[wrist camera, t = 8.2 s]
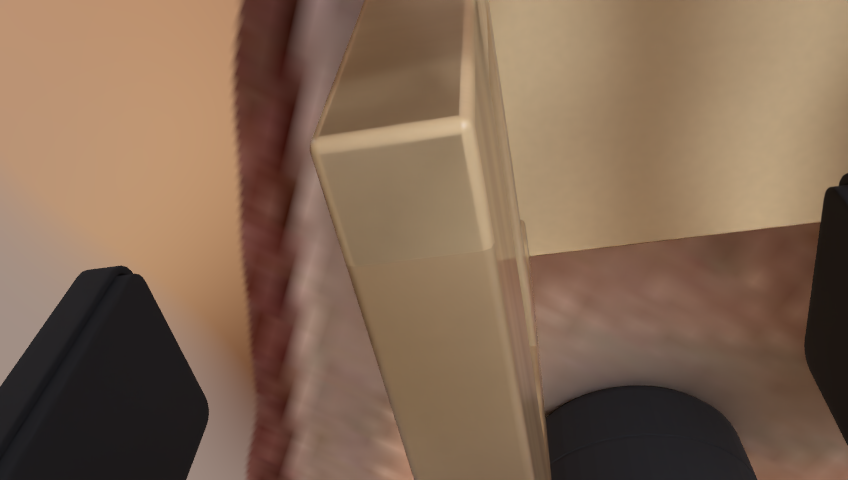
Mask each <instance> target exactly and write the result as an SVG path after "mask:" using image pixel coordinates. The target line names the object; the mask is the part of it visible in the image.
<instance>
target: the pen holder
mask: <svg viewBox="0 0 848 480" xmlns="http://www.w3.org/2000/svg"><path fill="white" fill-rule="evenodd" d="M546 429H547V439H548V449H549V459H550V470H551V480H757V478H756V475H755V473H754V471H753V468H752V466H751V464H750V461H749V459H748V457H747V454H746V452H745V450H744V448H743V445H742V443H741V441H740V439H739V437H738V435H737V433H736V431H735V430H734V428H733V426H732V425H731V423H730V422H729V421H728V420H727V419H726V418H725V417H724V416H723V415H722V414H721V413H720V412H719V411H717V410H716V409H715V408H713V407H712V406H710V405H708V404H707V403H705V402H703V401H701V400H699V399H697V398H695V397H692V396H690V395H688V394H685V393H682V392H679V391H675V390H672V389H666V388H661V387H652V386H625V387H615V388H610V389H604V390H600V391H596V392H593V393H589V394H586V395H584V396H581V397H579V398H576V399H574V400H572V401H570V402H568V403H566V404H564V405H563V406H561V407H560V408H558V409H557V410H555V411H554V412H553V413H551V414H550V415H549V416H548V417H547V418H546Z"/></svg>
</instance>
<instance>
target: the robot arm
mask: <svg viewBox="0 0 848 480" xmlns="http://www.w3.org/2000/svg"><path fill="white" fill-rule="evenodd" d="M804 347H805V355H806V360H807V364H808V367H809V369H810V371H811V373H812V375H813V377H814V379H815V381H816V383H817V385H818V387H819V389H820V391H821V393H822V395H823V397H824V399H825V401H826V403H827V405H828V407H829V409H830V411H831V413H832V415H833V417H834V419H835V421H836V423H837V425H838V427H839V429H840V431H841V433H842V435H843V437H844V439H845V441H846V443H847V445H848V173H846V174H845V175H843V176H842V178H841V180H840V182H839V186H834V187H829V188H828V189H827V190H826V192H825V196H824V201H823V208H822V216H821V223H820V231H819V238H818V245H817V253H816V260H815V268H814V275H813V283H812V290H811V297H810V305H809V312H808V320H807V327H806V334H805V344H804ZM208 415H209V409H208V403H207V400H206V397H205V395H204V393H203V391H202V389H201V387H200V386H199V384H198V382H197V380H196V378H195V376H194V374H193V372H192V370H191V368H190V366H189V364H188V362H187V361H186V359H185V357H184V355H183V353H182V351H181V350H180V347H179V345H178V343H177V341H176V339H175V338H174V335H173V334H172V332H171V330H170V328H169V326H168V324H167V322H166V320H165V318H164V316H163V314H162V312H161V310H160V309H159V307H158V305H157V303H156V301H155V299H154V297H153V295H152V293H151V291H150V289H149V288H148V285H147V284H146V282H145V280H144V279H143V277H141V276H140V275H138V274H133V273H132V271H131V270H129V269H128V268H127V267H124V266H115V267H107V268H99V269H91V270H86V271H83V272H82V273H81V274H80V275H79V276H78V277H77V278H76V280H75V281H74V282H73V284H72V285H71V287H70V288H69V290H68V291H67V292H66V294H65V295H64V297H63V298H62V300H61V301H60V302H59V304H58V305H57V307H56V308H55V309H54V311H53V312H52V314H51V315H50V317H49V318H48V319H47V321H46V322H45V324H44V325H43V327H42V328H41V329H40V331H39V332H38V334H37V335H36V337H35V338H34V339H33V341H32V342H31V344H30V345H29V347H28V348H27V349H26V351H25V353H24V354H23V355H22V357H21V358H20V359H19V361H18V362H17V364H16V365H15V366H14V368H13V369H12V371H11V372H10V374H9V375H8V376H7V378H6V379H5V381H4V382H3V384H2V385H1V386H0V480H186V479H187V476H188V473H189V471H190V468H191V465H192V463H193V460H194V457H195V455H196V452H197V449H198V446H199V444H200V441H201V439H202V436H203V433H204V430H205V428H206V425H207V422H208Z"/></svg>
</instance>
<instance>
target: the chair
mask: <svg viewBox="0 0 848 480" xmlns="http://www.w3.org/2000/svg"><path fill="white" fill-rule="evenodd" d="M310 153H311V156H312V159H313V162H314V165H315V168H316V171H317V175H318V178H319V181H320V184H321V187H322V190H323V194H324V197H325V200H326V203H327V206H328V209H329V212H330V216H331V219H332V222H333V225H334V228H335V231H336V234H337V238H338V241H339V244H340V247H341V250H342V253H343V257H344V260H345V263H346V266H347V269H348V272H349V275H350V278H351V282H352V285H353V288H354V291H355V294H356V297H357V300H358V304H359V307H360V310H361V313H362V316H363V319H364V323H365V326H366V329H367V332H368V335H369V338H370V341H371V345H372V348H373V351H374V354H375V357H376V360H377V363H378V367H379V370H380V373H381V376H382V379H383V382H384V386H385V389H386V392H387V395H388V398H389V401H390V404H391V408H392V411H393V414H394V417H395V420H396V423H397V426H398V430H399V433H400V436H401V439H402V442H403V445H404V449H405V452H406V455H407V458H408V461H409V464H410V467H411V471H412V474H413V477H414V480H551V470H550V459H549V449H548V439H547V429H546V418H545V408H544V398H543V388H542V377H541V367H540V357H539V346H538V336H537V326H536V316H535V305H534V295H533V285H532V275H531V264H530V256H538V255H547V254H555V253H563V252H572V251H580V250H589V249H597V248H606V247H614V246H623V245H631V244H639V243H648V242H656V241H665V240H673V239H682V238H690V237H698V236H707V235H715V234H724V233H732V232H741V231H749V230H758V229H766V228H774V227H783V226H791V225H800V224H808V223H817V222H821V216H822V208H823V201H824V196H825V192H826V190H827V189H828V188H829V187H834V186H839V182H840V180H841V178H842V176H843V175H845V174H846V173H848V0H365V1H364V3H363V6H362V9H361V11H360V14H359V17H358V19H357V22H356V24H355V27H354V30H353V32H352V35H351V37H350V40H349V43H348V45H347V48H346V51H345V53H344V56H343V58H342V61H341V64H340V66H339V69H338V72H337V74H336V77H335V79H334V82H333V85H332V87H331V90H330V93H329V95H328V98H327V100H326V103H325V106H324V108H323V111H322V113H321V116H320V119H319V121H318V124H317V127H316V129H315V132H314V134H313V137H312V140H311V144H310Z"/></svg>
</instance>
